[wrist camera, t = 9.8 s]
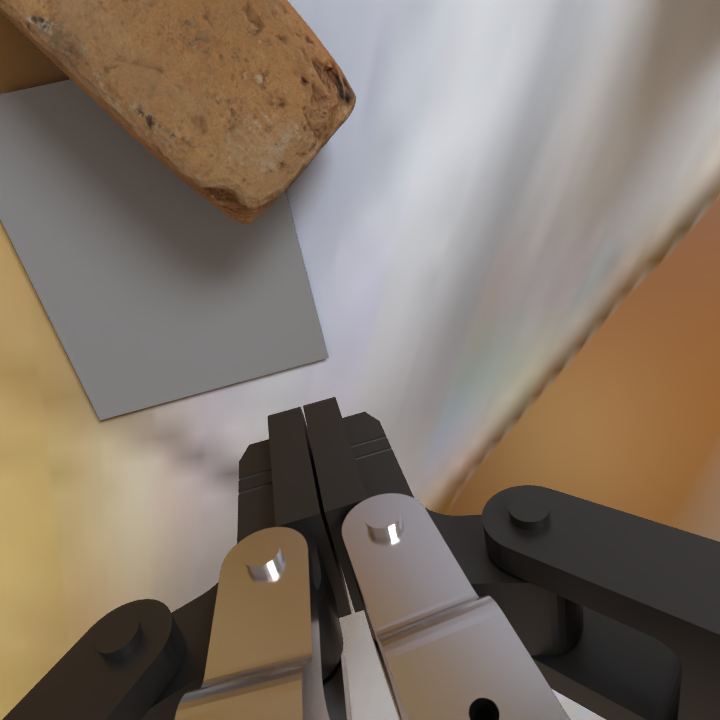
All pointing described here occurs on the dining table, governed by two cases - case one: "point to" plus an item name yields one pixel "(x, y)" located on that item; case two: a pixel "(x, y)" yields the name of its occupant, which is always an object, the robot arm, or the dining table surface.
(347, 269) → the dining table surface
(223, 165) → the sandstone rock
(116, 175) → the mat
